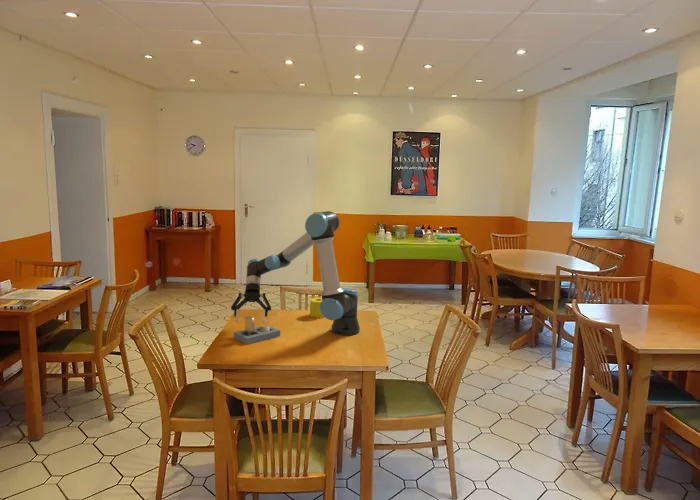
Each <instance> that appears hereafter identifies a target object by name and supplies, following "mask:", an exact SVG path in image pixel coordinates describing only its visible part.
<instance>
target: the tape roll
mask: <svg viewBox="0 0 700 500" xmlns="http://www.w3.org/2000/svg"><path fill="white" fill-rule="evenodd" d="M309 301H310V302H309V303H310V304H309V307H310V308H309V316H310V317H312V318H315V319H322V318H325V317H324V316H323V315H322V314H321V311H320V304H321V302H322V297H311V298H310V300H309Z"/></svg>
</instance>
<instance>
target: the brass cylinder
mask: <svg viewBox="0 0 700 500" xmlns="http://www.w3.org/2000/svg"><path fill="white" fill-rule="evenodd" d="M254 328H255V316H253V315H252V316H251V315H250V316H245V317H244V330H245V335H246V336H251V335H254Z"/></svg>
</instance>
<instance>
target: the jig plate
mask: <svg viewBox="0 0 700 500" xmlns="http://www.w3.org/2000/svg"><path fill="white" fill-rule="evenodd" d="M266 325H267V326H270V325H269V324H266ZM260 326H261V325H260ZM260 326H254V335H251V336H246V335H245V329H242V330H237V331H234V332H233V334H232V335H233V339H234V340H236V341H239V342H241V343H243V344H245V345H250V344H255V343H259V342H263V341H267V340H270V339H273V338H278V337H281V330H280V329H278V328H276V327H274V326H270V331H267V332H261V331H259V327H260Z"/></svg>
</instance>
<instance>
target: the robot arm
mask: <svg viewBox="0 0 700 500" xmlns="http://www.w3.org/2000/svg"><path fill="white" fill-rule="evenodd" d="M340 223H341V222H340V218H339V216H338V215H337V214H336V213H335V212H333V211H327V210H326V211H319V212H315V213H311V214H310V215H309V216H308V217H307V218H306V220H305V223H304V224H305V225H304V228H305V231H306V232H305V233H303V234H302V235H301V236H300V237H299V238H298V239H296V240H295V241H293V242H292V243H291V244H290V245H289V246H287V247H285V249H283V250H282V251H281V252H279V253H278V254H271V255H268V256H265V258H262V259H258V258H254V259H253V258H251V259H250V260H248V262H247V266H246V279H245V290H244V291H245V292H244V293H242V292H238V295H237V298H236V299H235V300H234V302H233V303H232V305H231V307H230V309H231V311H233V315H234V317H235V323H236V324H238V322H239V313H240V312H239V310H240V309H241V308H242V307H243V306H244V305H245V304H247V303H257V304H259V306H260V307H261V309H263V313H262V315H263V316H262V323H263V324H265V323H266V318H267V317H268V312H269V311H272V305H271V303H270V302H269V301H268V299H267V297H266V292H263V293H261V278H262V275H264V274H267V273H270V272H272V271H275V270H278V269H283V268H286V267H288V266H289V265H290V264H291V262H292V261H294V260H295V259H297V258H298V257H299V256H301V254H303V253H305V252H306V251H308V250H309V249H310V248H311V247H312V246H314V245H315V249H316V256H317V260H318V266H319V267H318V268H319V272H320V279H321V283H322V284H321V285H322V289H323V291H322V292H321V298H322V302H321V304H320V311H321V314H322V315H323V316H324V318H325V319H327V320H329V321H333V322H332V324H331V328H330V330H331V332H332V333H333V334H336V335H341V336H352V335H357V334H359V333H360V329H361V328H360V325H359V319H358V299H359V293H358V290H357V289H356V288H355V289H354V288H351V287H350V288H348V287H341V285H340V279H339V273H338V267H337V260H336V255H335V248H334V244H333V240H334V239H335V232H337V230H338V229H339V227H340ZM260 298H262V299H263V301H264V302H263V301H262V300H261V299H260ZM241 299H243V300H241ZM264 303H265V304H264Z"/></svg>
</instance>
